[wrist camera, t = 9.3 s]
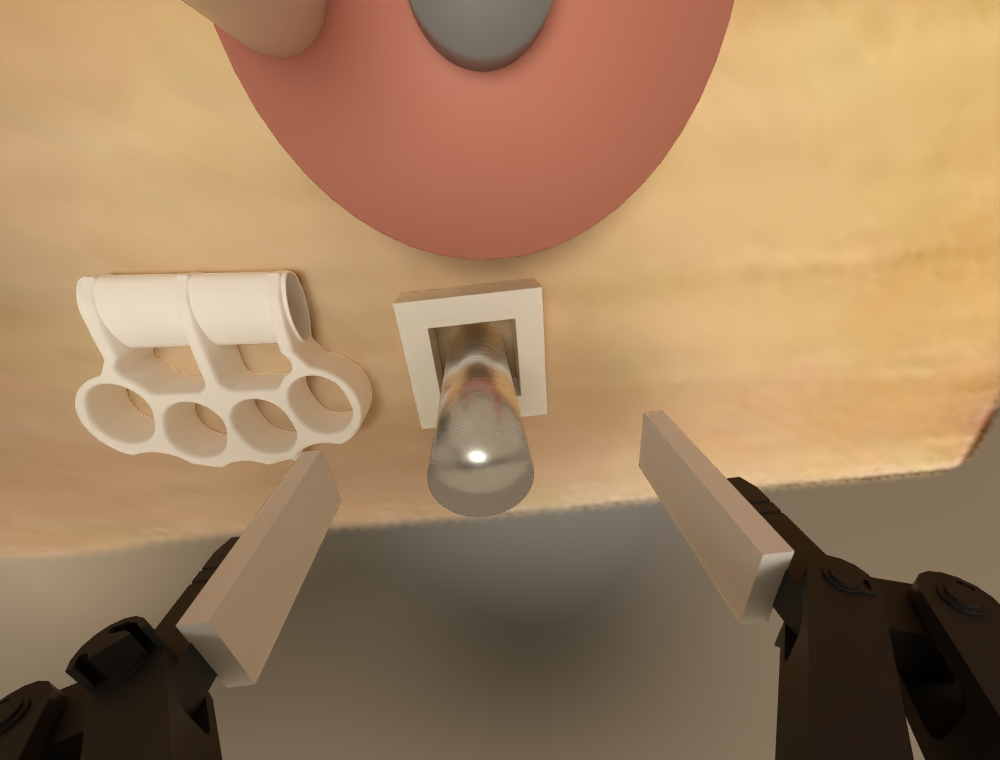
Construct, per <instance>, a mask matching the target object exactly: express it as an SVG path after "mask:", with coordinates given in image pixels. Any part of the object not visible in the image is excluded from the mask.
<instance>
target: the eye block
mask: <svg viewBox="0 0 1000 760" xmlns="http://www.w3.org/2000/svg"><path fill="white" fill-rule="evenodd" d="M393 307H394V311H395V316H396V320H397V324H398V329H399V333H400V337H401V342H402V346H403V350H404V355H405V359H406V363H407V368H408V372H409V376H410V381H411V385H412V389H413V394H414V398H415V402H416V407H417V411H418V415H419V420H420V424H421V428H422V429H428V428H435V426H436V420H437V414H438V408H439V402H440V396H441V389H442V383H443V371H442V366H441V361H440V355H439V350H438V344H437V339H436V333H435V328H437V327H445V326H454V325H463V324H472V323H480V322H489V321H498V320H507V319H512V330H513V342H514V354H515V366H516V377H514V378H512V381H513V385H514V389H515V394H516V398H517V402H518V406H519V410H520V414H521V417H528V416H536V415H544V414H547V394H546V371H545V347H544V324H543V301H542V287H541V286H540V284H539V283H538V282H537V281H536V280H535V279H534V278H533V279H524V280H516V281H507V282H498V283H489V284H480V285H471V286H462V287H453V288H444V289H435V290H426V291H417V292H408V293H401V295H400V296H399V297H398V298H397V299H396V301H395V302H394V303H393Z"/></svg>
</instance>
